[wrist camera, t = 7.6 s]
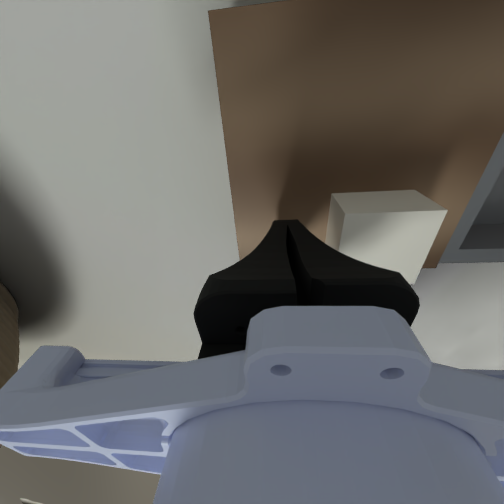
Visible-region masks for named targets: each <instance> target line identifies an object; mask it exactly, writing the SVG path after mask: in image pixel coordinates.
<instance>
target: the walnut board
mask: <svg viewBox="0 0 504 504" xmlns="http://www.w3.org/2000/svg"><path fill="white" fill-rule="evenodd" d="M208 14H209V22H210V30H211V38H212V46H213V54H214V61H215V69H216V77H217V85H218V93H219V101H220V109H221V117H222V124H223V132H224V140H225V148H226V156H227V164H228V172H229V179H230V187H231V195H232V203H233V211H234V219H235V227H236V234H237V242H238V250H239V258H240V260H242V259H243V258H244V257H246V256H247V255H248V254H250V253H251V252H252V251H253V250H254V249H255V248H256V247H257V246H258V245H259V243H260V242H261V241H262V240H263V238H264V237H265V236H266V234H267V232H268V231H269V229H270V227H271V225H272V222H273V221H274V220H293V219H298V220H299V221H300V222H301V223H302V224H303V225H304V226H305V227H306V228H307V229H308V230H309V231H310V232H311V233H312V234H313V235H315V236H316V237H317V238H318V239H320V240H321V241H322V242H324V243H325V239H326V232H327V224H328V217H329V209H330V201H331V194H332V193H352V192H374V191H396V190H416V191H418V192H419V193H421V194H422V195H424V196H426V197H427V198H429V199H431V200H432V201H434V202H435V203H437V204H439V205H440V206H442V207H444V208H445V209H447V210H448V211H447V213H446V215H445V218H444V220H443V222H442V224H441V226H440V229H439V231H438V233H437V235H436V237H435V240H434V242H433V244H432V246H431V248H430V251H429V253H428V255H427V257H426V259H425V262H424V264H423V266H422V268H436V266H437V264H438V262H439V260H440V258H441V256H442V254H443V252H444V250H445V248H446V246H447V244H448V242H449V240H450V238H451V236H452V234H453V232H454V230H455V228H456V226H457V224H458V222H459V220H460V218H461V216H462V214H463V212H464V210H465V208H466V206H467V204H468V202H469V200H470V198H471V196H472V194H473V192H474V190H475V188H476V186H477V184H478V182H479V180H480V178H481V176H482V174H483V172H484V170H485V168H486V166H487V164H488V162H489V160H490V158H491V156H492V154H493V152H494V150H495V148H496V146H497V144H498V142H499V140H500V138H501V136H502V134H503V132H504V0H286V1H278V2H271V3H263V4H255V5H248V6H240V7H232V8H225V9H217V10H209V11H208Z"/></svg>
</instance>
